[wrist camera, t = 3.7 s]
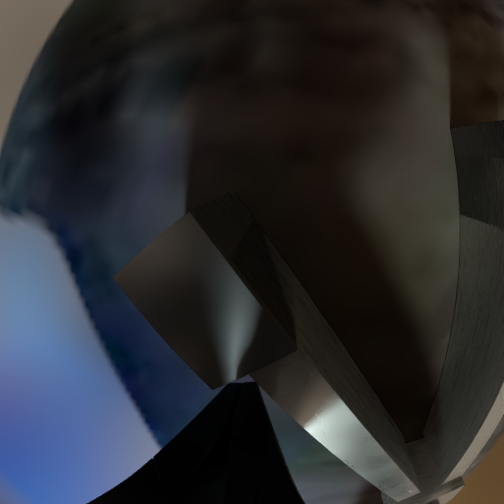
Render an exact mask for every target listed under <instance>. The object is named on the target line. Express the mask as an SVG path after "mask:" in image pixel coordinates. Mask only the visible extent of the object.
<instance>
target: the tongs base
mask: <svg viewBox="0 0 504 504" xmlns="http://www.w3.org/2000/svg"><path fill="white" fill-rule="evenodd" d="M451 134H452V139H453V145H454V151H455V158H456V166H457V175H458V186H459V199H460V265H459V279H458V289H457V298H456V306H455V313H454V320H453V326H452V331H451V337H450V342H449V346H448V351H447V356H446V360H445V364H444V368H443V372H442V375H441V379H440V383H439V386H438V389H437V393H436V396H435V399H434V402H433V405H432V408H431V411H430V414H429V417H428V419H427V422H426V425H425V427H424V430H423V434H424V438H422V439H419V440H416V441H413V442H410V443H406V445H407V449H408V452H409V455H410V458H411V461H412V464H413V468H414V471H415V474H416V478H417V481H418V485H419V488H420V492H419V493H417V494H415V495H413V496H411V497H408V498H406V499H404V500H401V501H399V502H397V501H395V500H394V499H392V498H391V497H390V496H388V495H387V494H385V493H384V492H382V491H381V495H382V500H383V504H444V503H447V502H449V501H450V500H451V499H452V498H453V497H454V496H455V495H456V494H457V493H458V492H459V491H460V490H461V489H462V488H463V486H464V485H465V484H464V481H463V479H462V476H461V475H462V474H463V473H464V472H465V471H466V469H467V468H468V467H469V465H470V464H471V463H472V462H473V460H474V459H475V458H476V456H477V455H478V453H479V452H480V451H481V449H482V448H483V446H484V445H485V443H486V442H487V440H488V439H489V437H490V436H491V434H492V433H493V431H494V430H495V428H496V426H497V425H498V423H499V421H500V420H501V418H502V416H503V414H504V120H502V121H494V122H487V123H480V124H474V125H467V126H461V127H456V128H451Z"/></svg>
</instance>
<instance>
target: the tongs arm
mask: <svg viewBox="0 0 504 504" xmlns="http://www.w3.org/2000/svg"><path fill="white" fill-rule="evenodd" d="M113 278H114V279H115V281H116V282H117V283H118V285H119V286H120V287H121V289H122V290H123V291H124V293H125V294H126V295H127V296H128V298H129V299H130V300H131V301H132V303H133V304H134V305H135V306H136V308H137V309H138V310H139V311H140V313H141V314H142V315H143V316H144V317H145V319H146V320H147V321H148V322H149V323H150V324H151V326H152V327H153V328H154V329H155V330H156V331H157V333H158V334H159V335H160V336H161V337H162V338H163V339H164V340H165V342H166V343H167V344H168V345H169V346H170V347H171V348H172V349H173V350H174V351H175V352H176V354H177V355H178V356H179V357H180V358H181V359H182V360H183V361H184V362H185V363H186V364H187V365H188V366H189V367H190V368H191V369H192V370H193V371H194V372H195V373H196V374H197V375H198V376H199V377H200V378H201V379H202V380H203V381H204V382H205V383H206V384H207V385H208V386H209V387H210V388H211V389H212V390H214V389H216V388H218V387H221V386H223V385H226V384H228V383H230V382H233V381H235V380H237V379H239V378H242V377H244V376H246V375H248V374H249V375H250V376H251V377H252V378H253V379H254V381H255V382H256V383H257V384H258V385H259V386H260V387H261V388H262V389H263V390H264V391H265V392H266V393H267V394H268V395H269V396H270V397H271V398H272V399H273V400H275V401H276V402H277V403H278V404H279V405H280V406H281V407H282V408H283V409H284V410H285V411H286V412H287V413H288V414H289V415H290V416H291V417H292V418H293V419H295V420H296V421H297V422H298V423H299V424H300V425H301V426H302V427H303V428H304V429H305V430H307V431H308V432H309V433H310V434H311V435H312V436H313V437H315V438H316V439H317V440H318V441H319V442H320V443H321V444H323V445H324V446H325V447H326V448H327V449H328V450H330V451H331V452H332V453H333V454H334V455H336V456H337V457H338V458H339V459H340V460H342V461H343V462H344V463H345V464H347V465H348V466H349V467H350V468H352V469H353V470H354V471H356V472H357V473H358V474H359V475H361V476H362V477H363V478H365V479H366V480H367V481H369V482H370V483H371V484H373V485H374V486H375V487H377V488H378V489H380V490H381V491H382V492H384V493H385V494H387V495H388V496H390V497H391V498H392V499H394V500H395V501H397V502H399V501H401V500H404V499H406V498H408V497H411V496H413V495H415V494H417V493H419V492H420V488H419V485H418V481H417V478H416V474H415V471H414V468H413V464H412V461H411V458H410V455H409V452H408V449H407V445H406V442H405V440H404V437H403V435H402V433H401V432H400V430H399V429H398V427H397V426H396V424H395V423H394V421H393V419H392V418H391V416H390V415H389V413H388V412H387V410H386V409H385V407H384V406H383V404H382V403H381V401H380V400H379V398H378V396H377V395H376V393H375V392H374V390H373V389H372V387H371V386H370V384H369V383H368V381H367V380H366V378H365V377H364V375H363V374H362V372H361V371H360V369H359V368H358V366H357V365H356V363H355V362H354V360H353V359H352V358H351V356H350V355H349V353H348V352H347V350H346V349H345V347H344V346H343V344H342V343H341V341H340V340H339V338H338V337H337V335H336V334H335V333H334V331H333V330H332V328H331V327H330V325H329V324H328V322H327V321H326V319H325V318H324V317H323V315H322V314H321V312H320V311H319V309H318V308H317V307H316V305H315V304H314V302H313V301H312V299H311V298H310V296H309V295H308V294H307V292H306V291H305V289H304V288H303V287H302V285H301V284H300V282H299V281H298V279H297V278H296V277H295V275H294V274H293V272H292V271H291V270H290V268H289V267H288V265H287V264H286V263H285V261H284V260H283V258H282V257H281V256H280V254H279V253H278V251H277V250H276V249H275V247H274V246H273V244H272V243H271V242H270V240H269V239H268V237H267V236H266V235H265V233H264V232H263V231H262V229H261V228H260V226H259V225H258V224H257V222H256V221H255V220H254V218H253V217H252V215H251V214H250V213H249V211H248V210H247V209H246V207H245V206H244V204H243V203H242V202H241V200H240V199H239V198H238V196H237V195H236V194H235V192H234V191H233V192H231V193H229V194H226V195H224V196H222V197H219V198H217V199H215V200H213V201H210V202H208V203H206V204H204V205H202V206H199V207H197V208H195V209H193V210H191V211H189V212H188V213H186V214H185V215H184V216H183V217H181V218H180V219H179V220H178V221H177V222H175V223H174V224H173V225H172V226H170V227H169V228H168V229H167V230H166V231H164V232H163V233H162V234H161V235H160V236H159V237H157V238H156V239H155V240H154V241H153V242H152V243H150V244H149V245H148V246H147V247H146V248H145V249H143V250H142V251H141V252H140V253H139V254H138V255H137V256H135V257H134V258H133V259H132V260H131V261H130V262H129V263H128V264H126V265H125V266H124V267H123V268H122V269H121V270H120V271H119V272H118V273H117V274H115V275H114V276H113Z"/></svg>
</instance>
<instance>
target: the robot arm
mask: <svg viewBox="0 0 504 504" xmlns="http://www.w3.org/2000/svg"><path fill="white" fill-rule="evenodd" d="M153 458H154V459H150V460H149V461H148V462H147V463H146V464H145V465H143V466H142V467H141V468H140V469H139V470H137V471H136V472H135V473H134V474H132V475H131V476H130V477H128V478H127V479H126V480H124V481H123V482H121V483H120V484H118V485H117V486H115V487H114V488H113V489H111V490H109V491H108V492H106V493H104V494H102V495H101V496H99V497H97V498H96V499H94V500H92V501H91V502H89V503H87V504H305V502H304V501H303V499H302V497H301V495H300V494H299V492H298V490H297V487H296V485H295V483H294V481H293V479H292V476H291V474H290V471H289V469H288V466H287V464H286V461H285V459H284V456H283V453H282V451H281V448H280V445H279V443H278V440H277V437H276V434H275V432H274V429H273V426H272V423H271V421H270V418H269V415H268V412H267V409H266V406H265V404H264V401H263V398H262V395H261V392H260V389H259V386H258V384H257V383H256V382H244V383H243V384H242V383H229V384H227V385H226V386H225V387H224V388H223V389H222V390H221V391H220V392H219V393H218V395H217V396H216V397H215V398H214V399H213V400H212V401H211V402H210V403H209V404H208V405H207V406H206V407H205V408H204V409H203V410H202V411H201V412H200V413H199V414H198V415H197V416H196V417H195V418H194V419H193V420H192V421H191V422H190V423H189V424H188V425H187V426H186V427H185V428H184V429H183V430H182V431H181V432H180V433H178V434H177V435H176V436H175V437H174V438H173V439H172V440H171V441H170V442H169V443H168V444H167V445H166V446H165V447H164V448H162V449H161V450H160V451H159V452H158V453H157V454H156V455H155V456H154V457H153Z"/></svg>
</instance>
